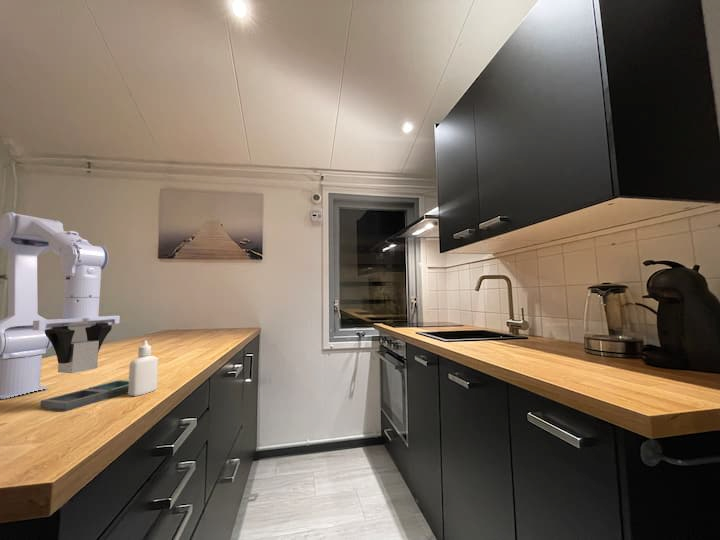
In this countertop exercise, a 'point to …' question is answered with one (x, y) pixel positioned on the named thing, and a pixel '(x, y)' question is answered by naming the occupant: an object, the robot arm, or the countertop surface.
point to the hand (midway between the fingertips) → (78, 360)
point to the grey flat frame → (86, 396)
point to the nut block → (81, 357)
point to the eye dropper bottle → (143, 372)
